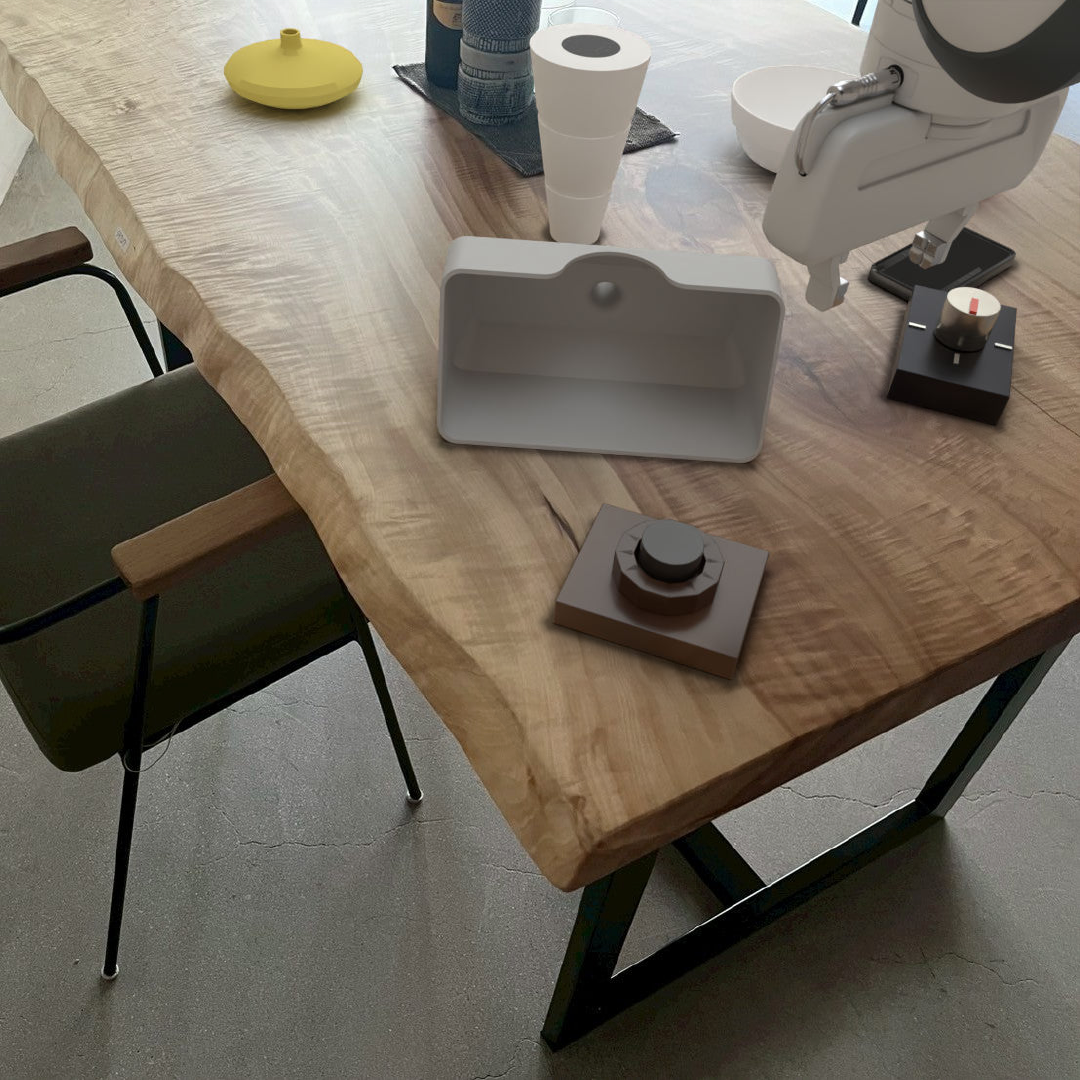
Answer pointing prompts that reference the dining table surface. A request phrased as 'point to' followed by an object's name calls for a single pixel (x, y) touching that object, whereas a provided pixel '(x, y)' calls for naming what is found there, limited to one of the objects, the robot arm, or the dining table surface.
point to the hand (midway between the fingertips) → (875, 282)
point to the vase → (293, 71)
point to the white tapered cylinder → (584, 118)
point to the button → (671, 551)
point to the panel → (952, 363)
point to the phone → (944, 266)
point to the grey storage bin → (607, 349)
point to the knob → (967, 319)
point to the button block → (662, 595)
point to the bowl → (776, 106)
